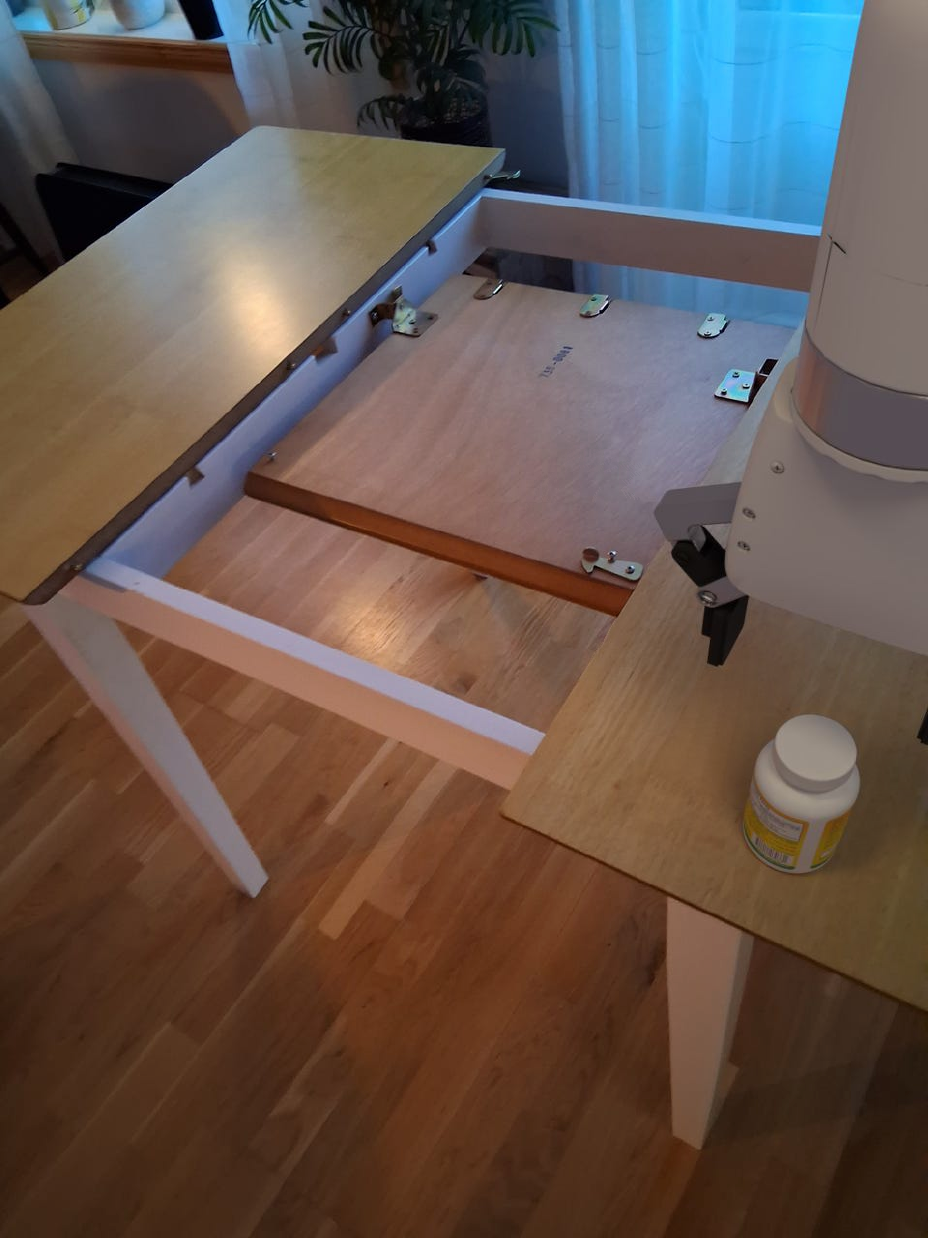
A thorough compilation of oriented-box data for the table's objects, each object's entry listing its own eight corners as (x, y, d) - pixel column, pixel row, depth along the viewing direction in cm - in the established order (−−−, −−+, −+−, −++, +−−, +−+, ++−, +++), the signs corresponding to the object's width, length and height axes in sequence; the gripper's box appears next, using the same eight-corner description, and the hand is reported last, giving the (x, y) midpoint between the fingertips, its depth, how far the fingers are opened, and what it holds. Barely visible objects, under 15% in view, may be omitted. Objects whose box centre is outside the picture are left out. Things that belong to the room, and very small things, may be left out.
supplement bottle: (751, 878, 53) (771, 795, 46) (734, 796, 56) (750, 706, 49) (848, 874, 52) (884, 789, 45) (825, 791, 56) (855, 699, 49)
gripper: (1242, 369, 29) (1044, 690, 42) (708, 270, 36) (682, 570, 49) (1215, 525, 25) (1006, 824, 38) (624, 379, 32) (620, 672, 45)
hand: (824, 681), depth 43 cm, fingers open, 9 cm apart
